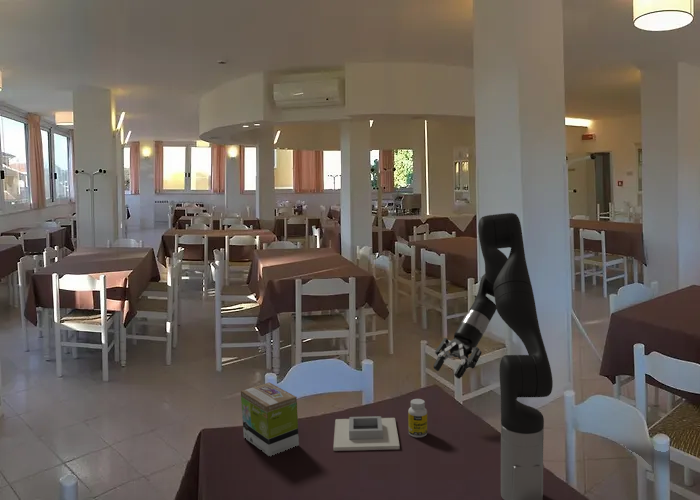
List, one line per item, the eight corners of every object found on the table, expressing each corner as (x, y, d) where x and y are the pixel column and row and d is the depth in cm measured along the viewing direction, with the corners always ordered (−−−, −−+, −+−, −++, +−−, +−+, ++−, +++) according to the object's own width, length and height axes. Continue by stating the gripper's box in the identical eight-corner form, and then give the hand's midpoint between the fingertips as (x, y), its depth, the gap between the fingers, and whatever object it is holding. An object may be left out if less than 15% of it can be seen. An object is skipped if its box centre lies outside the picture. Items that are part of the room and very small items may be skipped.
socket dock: (399, 449, 152) (399, 437, 152) (333, 450, 152) (333, 438, 152) (394, 420, 170) (394, 409, 170) (335, 422, 170) (335, 411, 170)
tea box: (242, 439, 161) (239, 389, 159) (272, 428, 168) (270, 381, 166) (269, 458, 150) (266, 405, 148) (300, 446, 156) (298, 395, 154)
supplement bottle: (412, 439, 158) (412, 406, 156) (405, 431, 163) (405, 399, 162) (430, 436, 159) (430, 403, 158) (422, 428, 164) (422, 396, 163)
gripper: (448, 317, 175) (422, 360, 170) (484, 326, 164) (457, 373, 158) (460, 330, 179) (435, 373, 174) (496, 340, 167) (470, 386, 162)
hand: (446, 373), depth 166 cm, fingers open, 8 cm apart
